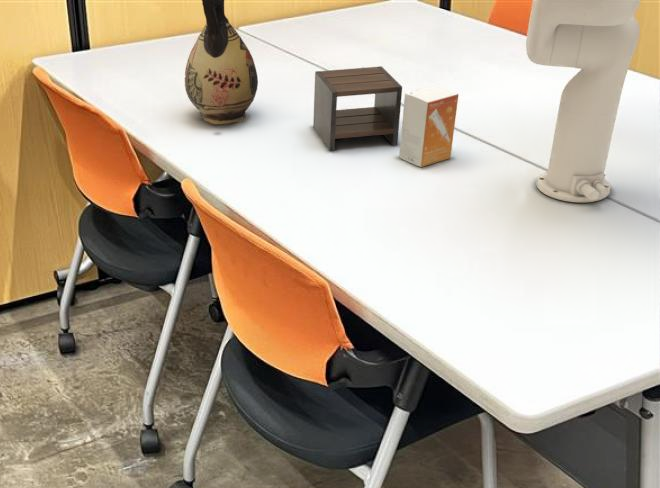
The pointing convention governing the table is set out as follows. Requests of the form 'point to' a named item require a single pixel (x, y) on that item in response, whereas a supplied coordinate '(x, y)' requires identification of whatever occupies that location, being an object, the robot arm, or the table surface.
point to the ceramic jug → (220, 70)
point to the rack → (359, 119)
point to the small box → (428, 125)
